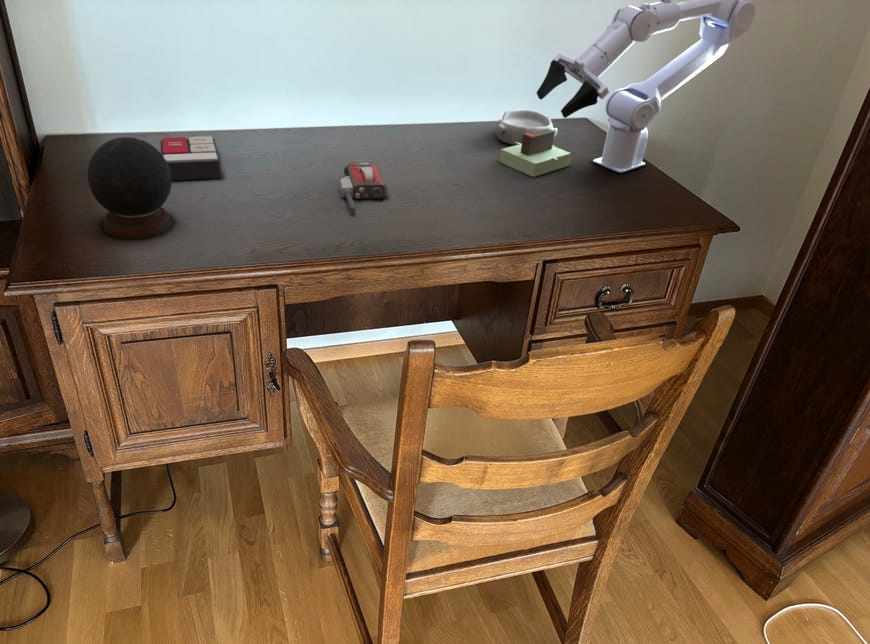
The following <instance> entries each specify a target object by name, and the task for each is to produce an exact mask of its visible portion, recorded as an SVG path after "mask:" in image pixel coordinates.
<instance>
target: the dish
mask: <svg viewBox="0 0 870 644" xmlns="http://www.w3.org/2000/svg"><path fill="white" fill-rule="evenodd" d="M544 129H550V130H552V131H555V133H554V138H556V136H557V135H558V128H557V127H554V126H553V123H552V120H551V118H550V117H549V116H547V115H546V114H544V113H542V112H539V111H536V110H532V109H509V110H505V111H504V113H503V116H502V118H500V119H498V121H497V123H496V127H495V131H496V132H495V133H496V137H497V138H498V140H500V141H501V142H503V143H505V144H508V145H509V144H510V145H512V146H515V145H519V144H517V143H515V142H518V143H520V144H522V140H523V135H524V134H525V133H532V132H536V131H540V130H544Z"/></svg>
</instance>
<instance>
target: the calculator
mask: <svg viewBox="0 0 870 644" xmlns="http://www.w3.org/2000/svg"><path fill="white" fill-rule="evenodd" d="M159 143H160V153H161V154H162V156H163V157H164V158H165V160H166V161H167V164H168V166H169V168H170V172H171V181H187V180H188V181H189V180H206V179H207V180H208V179H221V178H223V177H222V168H221V167H222V165H221V159H220V155H219V151H218V148H217V147H218V146H217V143H216V140H215V138H213V136H210V135H209V136H207V135H206V136H189V137H188V138H187V137H185V136H179V137H162V139H161V140H160V141H159Z"/></svg>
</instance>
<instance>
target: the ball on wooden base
mask: <svg viewBox="0 0 870 644" xmlns="http://www.w3.org/2000/svg"><path fill="white" fill-rule="evenodd" d="M87 166H88V167H87V183H88V186H89V190H90V191H91V193H92V195H93V197H94V198H95V200H96V201H97V202H98V203H99V204H100V206H101V207H103V208H104V209H106V211H108V212H107V213H106V215H105V217H104V218H103V219H102V226H103V230H104V231H105V232H106V233H107V234H109V235H110V236H113V237H115V238H120V239H127V240H128V239H129V240H131V239H132V240H135V239H137V240H138V239H144V238H150V237H154V236H158V235H160V234H163V233H164V232H166V231H167V230H169V228H170V227H171V225H172V217H171V215H170V213H169V212H167V210H166V209H164V207H163V205H165V203H166V202H167V200H168V198H169V195H170V193H171V190H172V184H173V183H172V180H171V172H170V168H169V166H168V164H167V161H166V160H165V158H164V157H163V156H162V154H161V151H159V150H158V149H157V148H156V146H154V145H152V144H151V143H149V142H147V141H145V140H142V139H140V138H137V137H129V136H123V137H115V138H113V139H110V140H108V141H106V142H104V143H103V144H101V145H100V146H99V147H98V148H97V149H96V150H95V151H94V153H93V154H92V156H91V157H90V160H89V163H88V165H87Z"/></svg>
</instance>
